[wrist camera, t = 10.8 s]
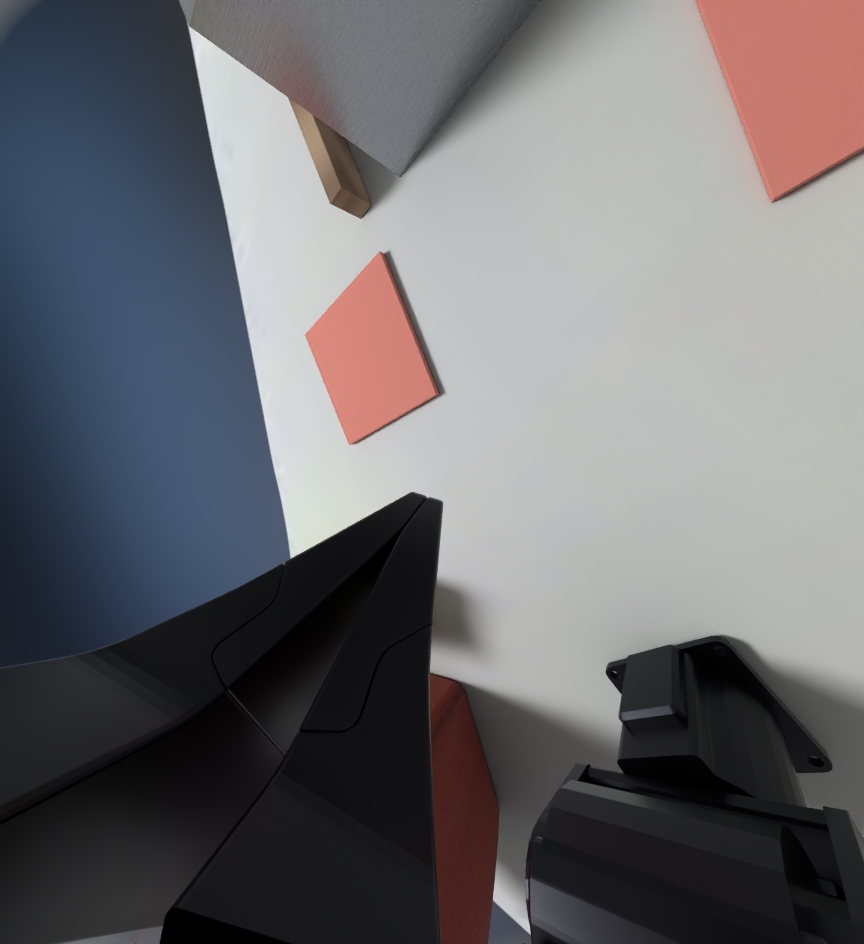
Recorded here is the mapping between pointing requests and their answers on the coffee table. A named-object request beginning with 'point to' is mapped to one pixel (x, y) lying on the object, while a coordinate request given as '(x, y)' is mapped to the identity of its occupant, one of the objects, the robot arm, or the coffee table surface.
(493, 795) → the plant pot
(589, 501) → the coffee table surface
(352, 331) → the mat
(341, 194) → the walnut corral
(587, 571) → the coffee table surface
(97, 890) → the robot arm
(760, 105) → the mat
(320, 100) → the grey bookend
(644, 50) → the coffee table surface
